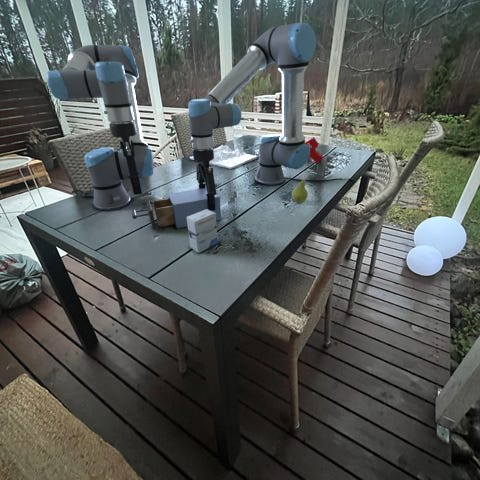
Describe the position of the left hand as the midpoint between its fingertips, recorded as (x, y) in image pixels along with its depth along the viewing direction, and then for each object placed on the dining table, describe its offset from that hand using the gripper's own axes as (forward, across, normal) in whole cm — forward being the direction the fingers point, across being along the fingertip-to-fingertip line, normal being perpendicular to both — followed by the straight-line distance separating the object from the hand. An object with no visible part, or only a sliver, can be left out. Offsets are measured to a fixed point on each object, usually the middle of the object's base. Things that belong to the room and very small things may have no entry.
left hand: (137, 193), depth 96 cm
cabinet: (+14, 0, +20) cm, 24 cm away
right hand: (+9, 0, +25) cm, 26 cm away
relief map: (+14, -73, +58) cm, 95 cm away
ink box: (+14, +21, +17) cm, 30 cm away
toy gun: (+14, -45, +103) cm, 113 cm away
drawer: (+13, 0, +8) cm, 15 cm away
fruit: (+14, +4, +66) cm, 68 cm away
